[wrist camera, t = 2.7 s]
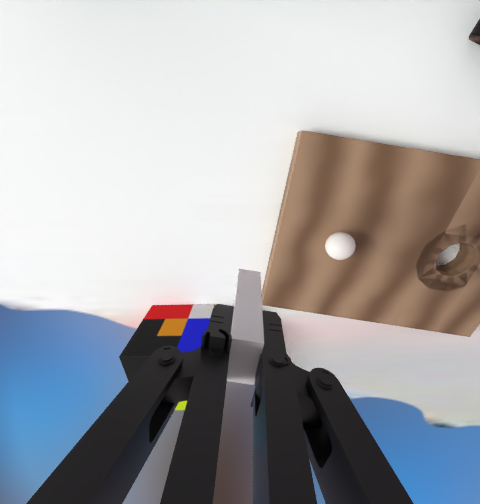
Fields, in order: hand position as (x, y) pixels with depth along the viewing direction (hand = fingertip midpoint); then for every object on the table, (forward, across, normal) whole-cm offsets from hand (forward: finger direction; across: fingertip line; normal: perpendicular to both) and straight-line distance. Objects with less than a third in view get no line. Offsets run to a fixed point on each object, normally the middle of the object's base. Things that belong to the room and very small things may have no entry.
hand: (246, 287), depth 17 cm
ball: (+11, +10, 0) cm, 15 cm away
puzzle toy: (+16, -7, -20) cm, 26 cm away
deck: (+15, +18, +1) cm, 23 cm away
